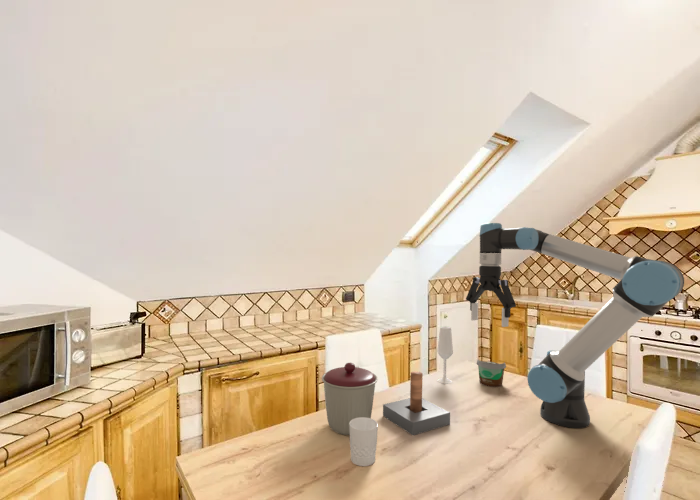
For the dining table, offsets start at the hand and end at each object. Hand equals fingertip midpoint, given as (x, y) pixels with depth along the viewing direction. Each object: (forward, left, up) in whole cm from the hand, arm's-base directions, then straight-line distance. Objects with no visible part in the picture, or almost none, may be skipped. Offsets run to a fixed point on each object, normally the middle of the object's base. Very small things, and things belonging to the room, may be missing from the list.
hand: (489, 323), depth 140 cm
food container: (+17, -22, -32) cm, 42 cm away
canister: (+12, +52, -32) cm, 62 cm away
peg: (+6, +29, -32) cm, 43 cm away
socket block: (+6, +29, -32) cm, 43 cm away
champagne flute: (+30, -8, -32) cm, 45 cm away
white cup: (-6, +58, -32) cm, 66 cm away
